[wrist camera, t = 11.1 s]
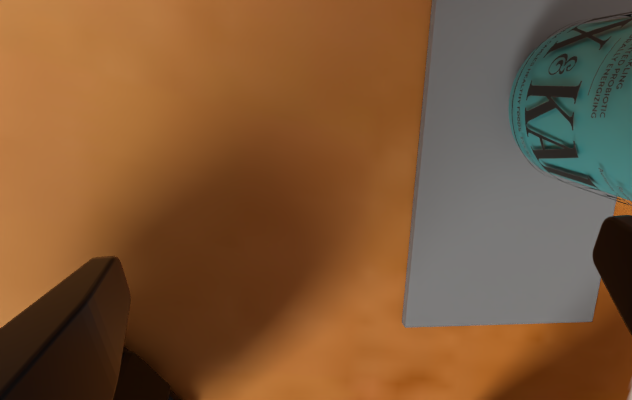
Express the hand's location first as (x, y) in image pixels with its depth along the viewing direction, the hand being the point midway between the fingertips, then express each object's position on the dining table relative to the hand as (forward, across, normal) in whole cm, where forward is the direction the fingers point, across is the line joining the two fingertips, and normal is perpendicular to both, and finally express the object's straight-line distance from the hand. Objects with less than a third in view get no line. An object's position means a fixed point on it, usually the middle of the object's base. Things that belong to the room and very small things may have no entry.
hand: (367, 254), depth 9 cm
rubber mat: (+12, -10, +5) cm, 16 cm away
